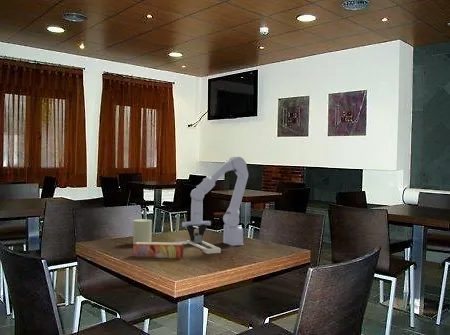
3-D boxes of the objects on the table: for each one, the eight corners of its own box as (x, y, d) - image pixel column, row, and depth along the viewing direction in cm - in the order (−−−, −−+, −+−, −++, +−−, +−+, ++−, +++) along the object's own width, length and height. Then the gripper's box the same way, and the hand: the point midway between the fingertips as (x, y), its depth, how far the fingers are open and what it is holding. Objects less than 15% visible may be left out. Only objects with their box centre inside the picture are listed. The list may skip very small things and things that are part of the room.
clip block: (197, 241, 213) (198, 231, 213) (201, 243, 209) (202, 233, 209) (190, 241, 211) (190, 232, 211) (194, 243, 207) (194, 233, 207)
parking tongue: (185, 243, 215) (185, 241, 215) (191, 245, 209) (191, 243, 209) (172, 243, 212) (172, 241, 212) (177, 246, 206) (177, 244, 206)
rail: (198, 243, 215) (199, 239, 215) (220, 252, 194) (220, 248, 194) (186, 244, 212) (186, 240, 212) (207, 253, 190) (207, 249, 190)
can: (147, 245, 206) (147, 220, 206) (129, 244, 208) (130, 220, 208) (154, 242, 215) (154, 218, 215) (137, 241, 217) (137, 217, 217)
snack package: (131, 258, 180) (131, 242, 179) (136, 254, 186) (136, 239, 186) (181, 260, 177) (181, 244, 177) (184, 257, 184) (184, 241, 184)
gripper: (206, 211, 217) (206, 238, 217) (180, 212, 210) (179, 240, 210) (212, 213, 210) (212, 240, 210) (185, 214, 204) (184, 242, 204)
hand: (196, 240), depth 210 cm, fingers closed on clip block, 4 cm apart
